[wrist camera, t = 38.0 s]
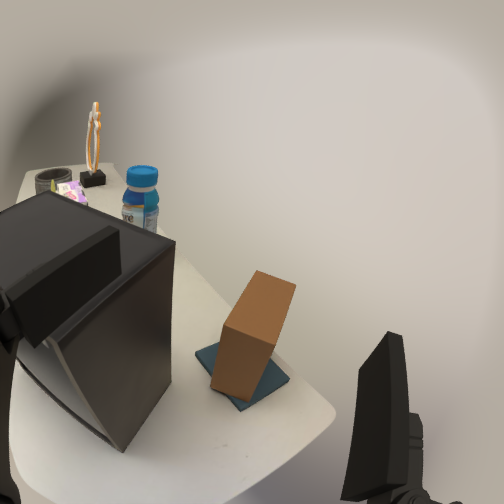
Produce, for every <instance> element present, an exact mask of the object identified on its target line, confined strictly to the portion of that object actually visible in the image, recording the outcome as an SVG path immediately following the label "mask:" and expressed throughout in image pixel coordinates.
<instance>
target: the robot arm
mask: <svg viewBox="0 0 504 504" xmlns="http://www.w3.org/2000/svg"><path fill="white" fill-rule="evenodd" d="M120 275H122V268H121V253H120V230H119V229H117V228H115V227H112V226H110V225H108V226H107V227H105V228H103V229H101V230H100V231H98V232H96V233H94V234H93V235H91V236H89V237H87V238H86V239H84V240H82V241H81V242H79V243H77V244H76V245H74V246H72V247H71V248H69V249H68V250H66V251H64V252H63V253H61V254H60V255H58V256H56V257H55V258H53V259H52V260H49V261H46V262H44V263H41V264H39V265H38V266H36V267H35V268H33V269H32V271H31V270H30V271H29V272H27V273H26V275H23V276H21V277H20V278H19V279H17V280H16V281H14V282H13V283H12V284H10V285H9V286H7V287H6V288H5V289H3V290H2V291H0V504H21V499H20V494H19V490H18V487H17V485H16V484H15V482H14V481H13V479H12V477H11V474H10V462H9V411H10V398H11V388H12V380H13V373H14V366H15V360H16V355H17V350H18V345H19V340H20V336H19V332H20V331H22V333H23V335H24V337H25V339H26V340H27V342H28V343H29V344H30V345H31V346H32V347H33V348H34V349H35V348H36V347H37V346H38V345H39V344H40V343H42V342H43V341H44V340H45V339H46V338H47V337H48V336H49V335H50V334H51V333H53V332H54V331H55V330H56V329H57V328H58V327H59V326H60V325H61V324H63V323H64V322H65V321H66V320H67V319H68V318H69V317H71V316H72V315H73V314H74V313H75V312H76V311H78V310H79V309H80V308H81V307H82V306H84V305H85V304H86V303H87V302H88V301H89V300H91V299H92V298H93V297H94V296H96V295H97V294H98V293H99V292H100V291H102V290H103V289H104V288H105V287H107V286H108V285H109V284H110V283H111V282H113V281H114V280H115V279H116V278H118V277H119V276H120ZM408 399H409V398H408V384H407V371H406V362H405V353H404V347H403V339H402V335H398V334H395V333H392V332H389V331H387V333H386V334H385V336H384V337H383V339H382V340H381V342H380V343H379V344H378V346H377V347H376V348H375V349H374V351H373V352H372V353H371V355H370V356H369V357H368V359H367V360H366V361H365V362H364V364H363V365H362V366H361V367H360V369H359V374H358V388H357V399H356V410H355V418H354V426H353V435H352V441H351V447H350V454H349V459H348V466H347V470H346V476H345V480H344V485H343V490H342V494H341V499H340V500H344V501H353V502H359V501H363V500H366V499H368V500H367V504H442V503H438V502H436V501H433V500H431V499H430V496H429V494H428V493H427V491H425V490H424V489H423V487H422V476H423V450H422V448H423V440H422V438H423V425H422V422H421V420H420V417H419V415H418V414H415V413H410V412H409V400H408ZM450 504H462V503H461V502H458V501H456V502H452V503H450Z"/></svg>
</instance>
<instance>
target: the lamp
mask: <svg viewBox="0 0 504 504" xmlns="http://www.w3.org/2000/svg"><path fill="white" fill-rule="evenodd" d="M98 109H99V104H98V102H94V103H93V107H92V111H91V112H90V114H89V118H90V119H89V120H88V132H87V139H86V160H87V168H88V170H89V171H86V172H80V182H81V184H82V185H83V187H84V188H88V187H94V186H99V185H105V183H106V175H105V174H104V173H103V172H102V171H101V170H100V169H99V170H97V167H98V160H99V145H100V144H99V143H100V142H99V130H100V129H101V124H100V121H99V119H100V116H101V113H100V112H98ZM93 120H94V123H95V125H96V127H94V135H95V153H94V163H93V168H92V166H91V159H90V140H91V133H92V128H93V125H92V122H93Z"/></svg>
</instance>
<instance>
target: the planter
mask: <svg viewBox="0 0 504 504" xmlns="http://www.w3.org/2000/svg"><path fill="white" fill-rule="evenodd" d="M52 179H53V180H54V184H55V190H57V184H60V183H65V182H71V181H72V171H71V170H70V169H68V168H53V169H48V170H44V171H42V172H40V173H38V174H37V175H36V176H35V188H36V195H37V194H40V193H42V192H44V191H47V190H50V191H51V181H52Z"/></svg>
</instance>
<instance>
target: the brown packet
mask: <svg viewBox="0 0 504 504" xmlns="http://www.w3.org/2000/svg"><path fill="white" fill-rule="evenodd" d="M295 288H296V285H295V284H293V283H290V282H287V281H285V280H282V279H279V278H276V277H273V276H271V275H268V274H266V273H263V272H260V271H256V272H255V273H254V275H253V277H252V279H251V280H250V282H249V283H248V285H247V287H246V288H245V290H244V292H243V293H242V295H241V297H240V298H239V300H238V302H237V303H236V305H235V306H234V308H233V310H232V311H231V313H230V315H229V316H228V318H227V319H226V321H225V323H224V324H223V328H222V333H221V338H220V342H219V347H218V352H217V356H216V361H215V366H214V370H213V375H212V380H211V385H210V387H211V388H214V389H216V390H218V391H220V392H223V393H225V394H228V395H230V396H233V397H235V398H238V399H240V400H243V401H245V402H248V403H249V401H250V399H251V397H252V395H253V393H254V391H255V389H256V386H257V384H258V382H259V380H260V378H261V376H262V374H263V372H264V370H265V367H266V365H267V363H268V361H269V359H270V357H271V354H272V352H273V350H274V348H275V346H276V343H277V340H278V337H279V335H280V332H281V329H282V326H283V323H284V320H285V318H286V315H287V311H288V309H289V305H290V303H291V300H292V297H293V294H294V291H295Z"/></svg>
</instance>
